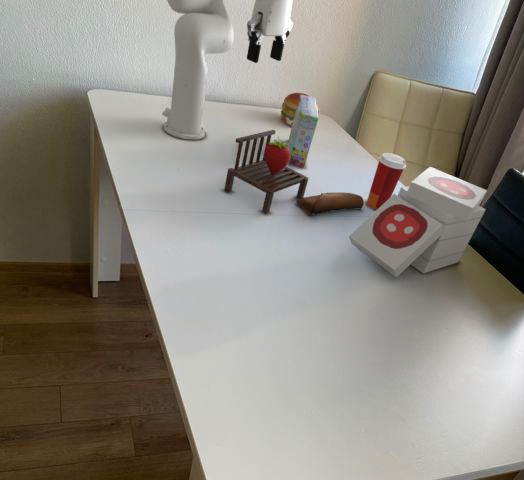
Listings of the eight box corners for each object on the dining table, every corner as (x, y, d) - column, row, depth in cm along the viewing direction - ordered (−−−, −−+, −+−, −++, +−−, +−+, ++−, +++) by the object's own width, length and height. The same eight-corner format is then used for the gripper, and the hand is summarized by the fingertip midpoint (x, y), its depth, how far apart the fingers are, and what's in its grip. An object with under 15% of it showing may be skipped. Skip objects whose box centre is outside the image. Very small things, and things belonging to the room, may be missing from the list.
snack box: (305, 168, 162) (319, 118, 152) (287, 164, 161) (300, 113, 152) (303, 144, 178) (316, 96, 168) (287, 140, 177) (298, 92, 168)
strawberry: (273, 182, 134) (282, 143, 128) (254, 169, 138) (262, 130, 131) (290, 180, 138) (299, 141, 131) (271, 167, 141) (280, 129, 135)
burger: (291, 114, 200) (298, 86, 193) (321, 128, 195) (329, 99, 189) (271, 119, 190) (277, 89, 184) (302, 133, 186) (309, 103, 179)
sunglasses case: (343, 195, 151) (357, 181, 146) (352, 217, 150) (367, 204, 145) (293, 200, 142) (306, 186, 136) (303, 223, 141) (317, 210, 135)
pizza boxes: (338, 246, 129) (363, 175, 117) (414, 228, 146) (442, 165, 134) (396, 290, 119) (429, 217, 107) (470, 265, 136) (505, 200, 125)
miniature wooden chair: (224, 190, 138) (233, 138, 130) (263, 177, 150) (273, 128, 141) (266, 214, 134) (278, 161, 125) (302, 198, 145) (316, 149, 136)
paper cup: (390, 205, 155) (409, 158, 146) (386, 215, 149) (405, 167, 140) (365, 196, 156) (382, 149, 147) (360, 205, 150) (377, 157, 141)
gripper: (287, -23, 131) (272, 53, 141) (244, -28, 119) (230, 56, 130) (312, -14, 128) (294, 63, 139) (270, -18, 116) (254, 67, 127)
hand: (263, 60), depth 134 cm, fingers open, 9 cm apart
